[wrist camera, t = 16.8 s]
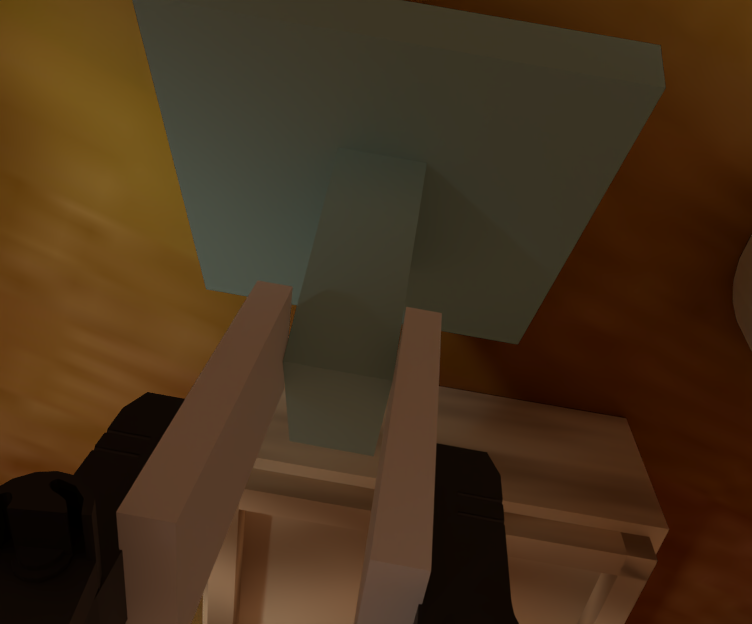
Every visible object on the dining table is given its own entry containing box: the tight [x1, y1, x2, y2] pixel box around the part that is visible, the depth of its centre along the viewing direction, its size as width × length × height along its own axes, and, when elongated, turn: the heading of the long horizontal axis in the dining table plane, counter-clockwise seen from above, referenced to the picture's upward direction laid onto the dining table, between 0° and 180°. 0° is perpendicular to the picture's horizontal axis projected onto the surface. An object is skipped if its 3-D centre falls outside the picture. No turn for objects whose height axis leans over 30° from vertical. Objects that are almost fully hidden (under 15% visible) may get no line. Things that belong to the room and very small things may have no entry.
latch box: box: [203, 382, 669, 624], centre depth 30 cm, size 22×16×7 cm
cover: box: [132, 0, 666, 456], centre depth 18 cm, size 12×12×8 cm
